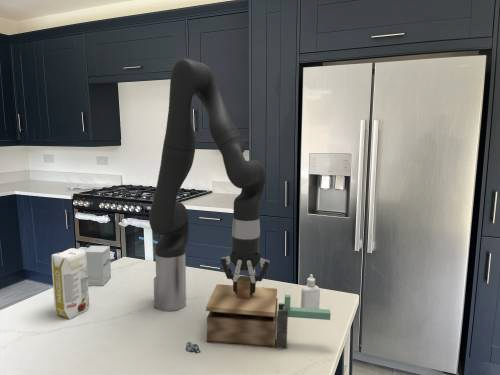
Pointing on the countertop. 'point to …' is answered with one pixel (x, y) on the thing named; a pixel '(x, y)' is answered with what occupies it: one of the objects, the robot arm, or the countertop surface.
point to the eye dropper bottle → (310, 294)
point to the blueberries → (192, 348)
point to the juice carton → (70, 282)
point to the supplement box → (98, 265)
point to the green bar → (305, 311)
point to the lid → (243, 299)
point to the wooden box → (248, 328)
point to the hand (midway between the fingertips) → (244, 293)
